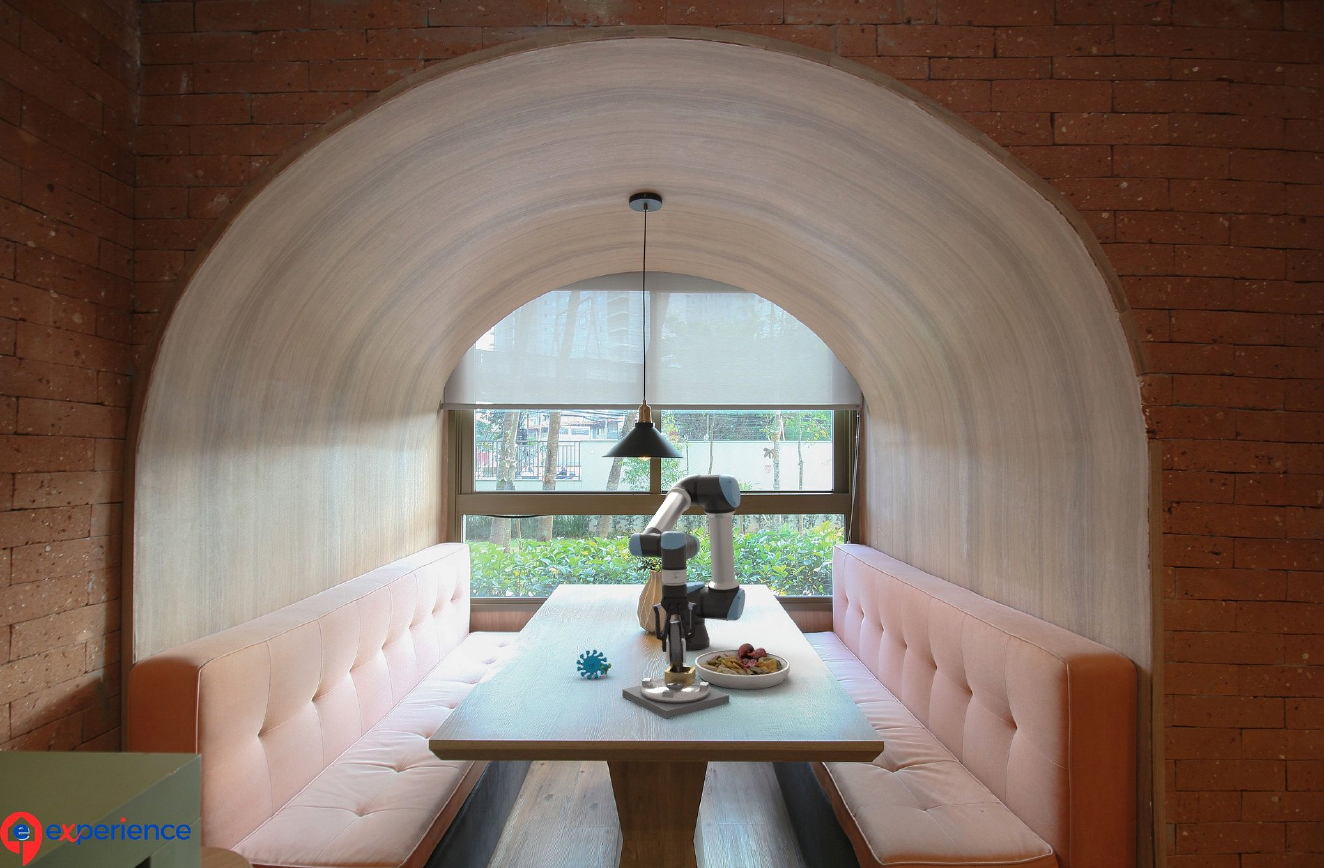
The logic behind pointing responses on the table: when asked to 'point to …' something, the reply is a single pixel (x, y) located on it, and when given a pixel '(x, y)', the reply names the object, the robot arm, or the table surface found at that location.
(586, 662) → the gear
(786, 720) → the table surface
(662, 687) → the silver disc with box
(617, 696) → the table surface
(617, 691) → the table surface
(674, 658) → the pin
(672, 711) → the nut plate
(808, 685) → the table surface
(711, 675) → the bowl
